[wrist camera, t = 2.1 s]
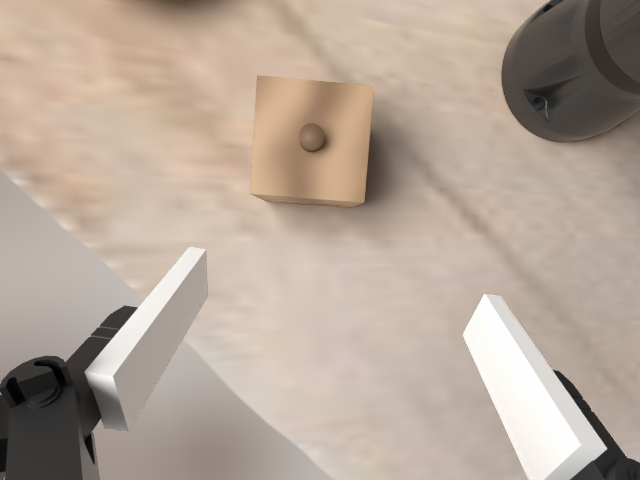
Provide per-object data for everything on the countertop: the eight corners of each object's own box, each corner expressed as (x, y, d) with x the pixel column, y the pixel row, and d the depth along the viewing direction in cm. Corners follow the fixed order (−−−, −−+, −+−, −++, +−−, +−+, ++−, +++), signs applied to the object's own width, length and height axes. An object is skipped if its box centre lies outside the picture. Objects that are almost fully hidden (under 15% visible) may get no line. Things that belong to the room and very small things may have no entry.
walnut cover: (357, 121, 34) (377, 79, 24) (350, 207, 35) (366, 201, 25) (271, 114, 34) (254, 68, 24) (266, 201, 35) (246, 192, 24)
